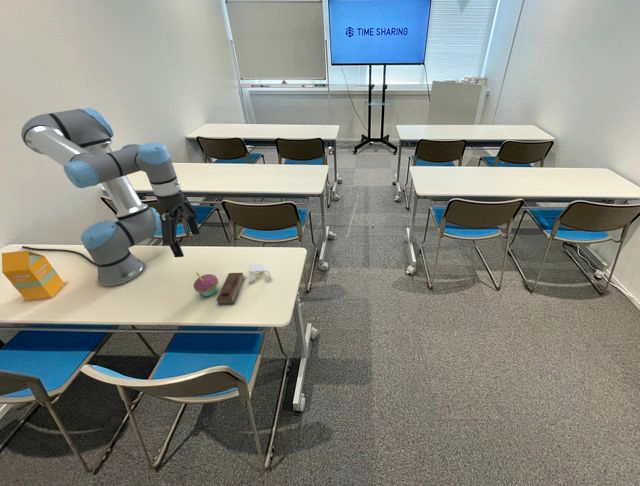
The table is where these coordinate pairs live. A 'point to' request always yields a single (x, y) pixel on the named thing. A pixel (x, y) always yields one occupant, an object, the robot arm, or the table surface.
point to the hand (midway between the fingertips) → (188, 244)
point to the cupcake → (206, 284)
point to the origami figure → (257, 270)
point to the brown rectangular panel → (230, 288)
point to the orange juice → (31, 274)
